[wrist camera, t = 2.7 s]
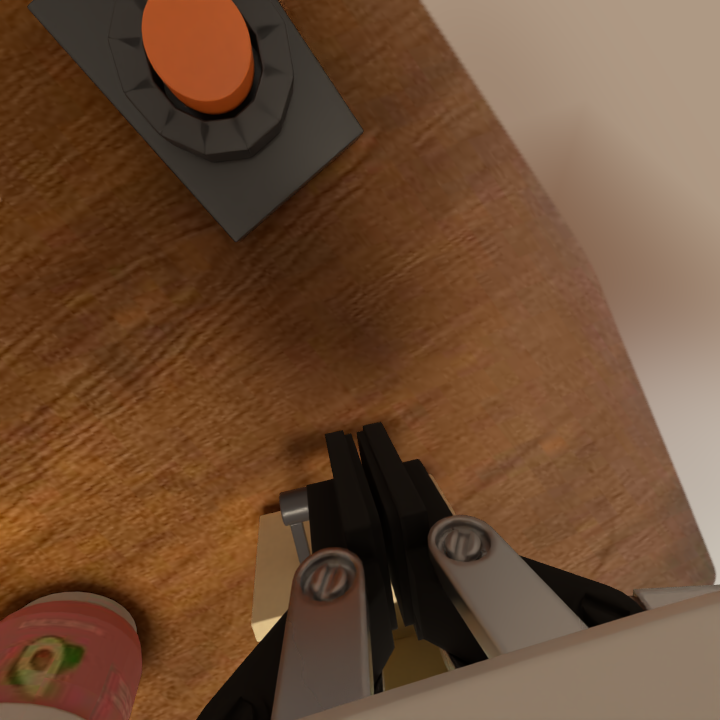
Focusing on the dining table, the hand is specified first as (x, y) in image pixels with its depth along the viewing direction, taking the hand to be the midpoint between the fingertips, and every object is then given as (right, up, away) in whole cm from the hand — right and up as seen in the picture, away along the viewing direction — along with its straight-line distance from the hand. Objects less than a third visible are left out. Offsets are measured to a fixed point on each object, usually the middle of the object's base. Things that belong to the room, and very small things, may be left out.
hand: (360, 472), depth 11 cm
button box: (-7, +16, +7) cm, 18 cm away
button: (-6, +15, +4) cm, 16 cm away
